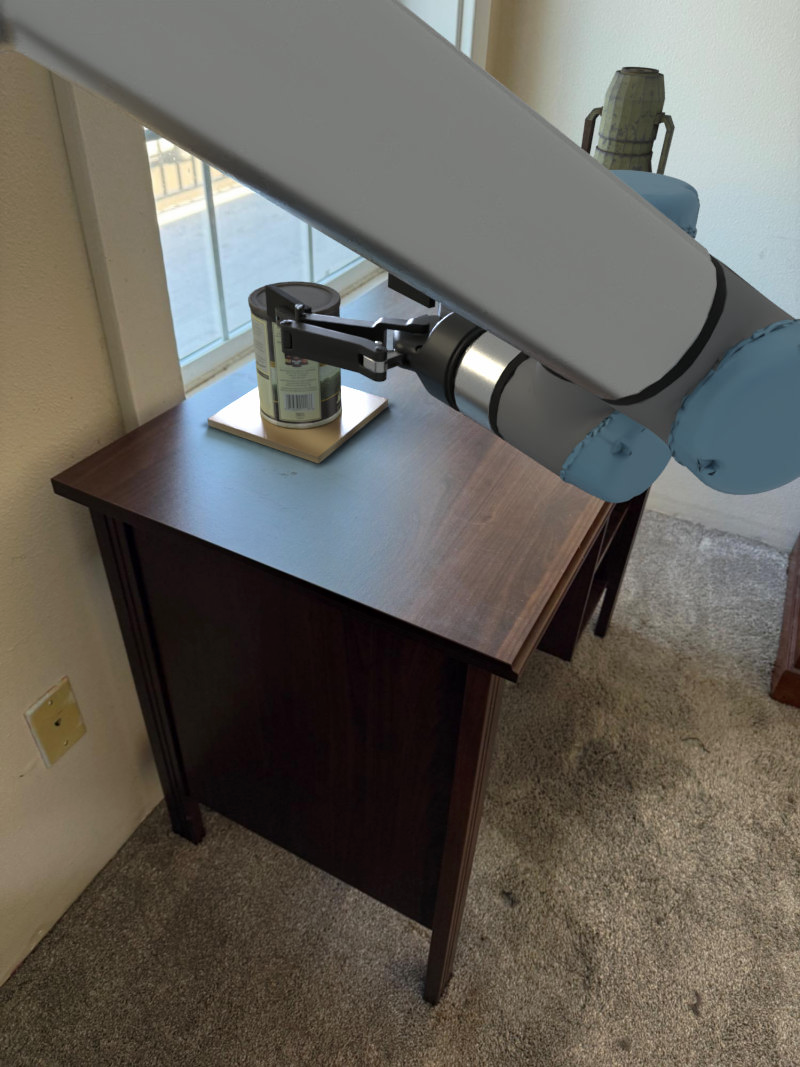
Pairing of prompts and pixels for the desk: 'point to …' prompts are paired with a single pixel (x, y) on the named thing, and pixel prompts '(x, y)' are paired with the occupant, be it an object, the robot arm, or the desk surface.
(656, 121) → the thermos
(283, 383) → the coffee can
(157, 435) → the desk surface
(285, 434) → the cork mat
